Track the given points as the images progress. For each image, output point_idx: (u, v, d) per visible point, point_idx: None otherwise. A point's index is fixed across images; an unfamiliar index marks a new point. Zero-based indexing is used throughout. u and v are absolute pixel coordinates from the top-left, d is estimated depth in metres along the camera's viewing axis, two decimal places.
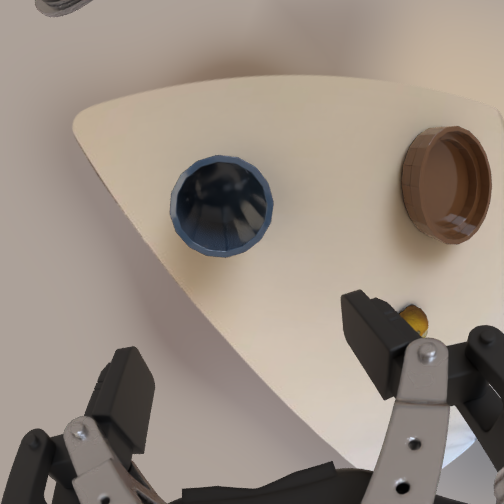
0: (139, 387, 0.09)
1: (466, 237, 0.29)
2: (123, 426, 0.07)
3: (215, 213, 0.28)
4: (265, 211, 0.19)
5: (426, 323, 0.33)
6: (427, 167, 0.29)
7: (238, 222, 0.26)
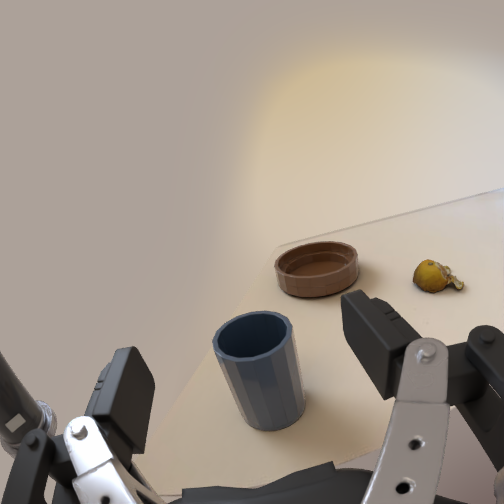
0: (139, 387, 0.09)
1: (353, 250, 0.48)
2: (123, 426, 0.07)
3: None
4: (269, 315, 0.26)
5: None
6: None
7: None
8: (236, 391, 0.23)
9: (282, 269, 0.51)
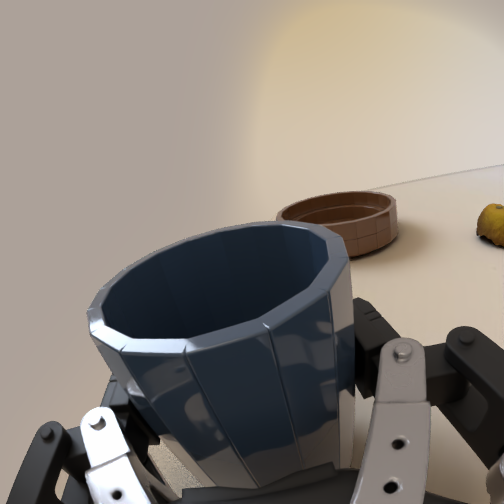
0: None
1: (388, 196, 0.32)
2: (140, 416, 0.07)
3: None
4: (267, 231, 0.10)
5: (486, 206, 0.23)
6: None
7: None
8: (168, 446, 0.07)
9: None
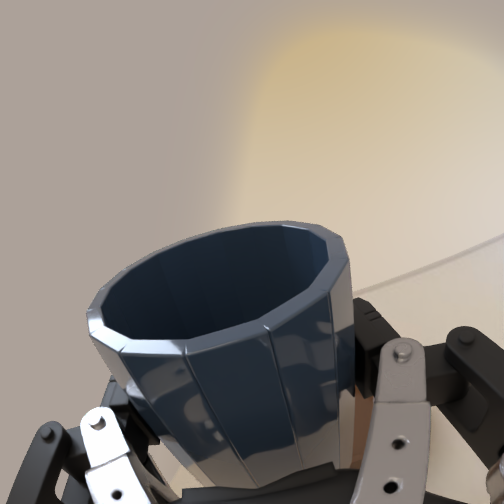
0: None
1: None
2: (140, 416, 0.07)
3: None
4: (267, 231, 0.10)
5: None
6: None
7: None
8: (167, 447, 0.06)
9: None
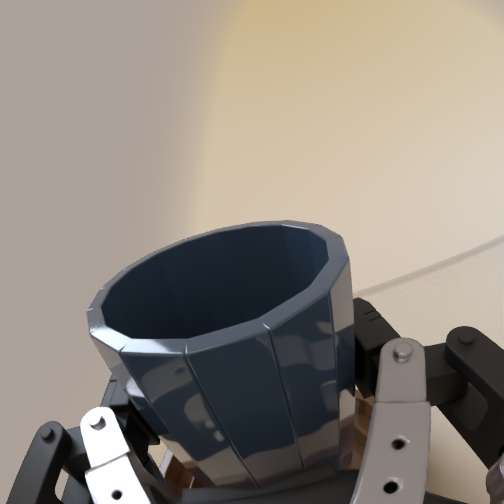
0: None
1: None
2: (140, 416, 0.07)
3: None
4: (267, 231, 0.10)
5: None
6: None
7: None
8: (167, 446, 0.06)
9: None
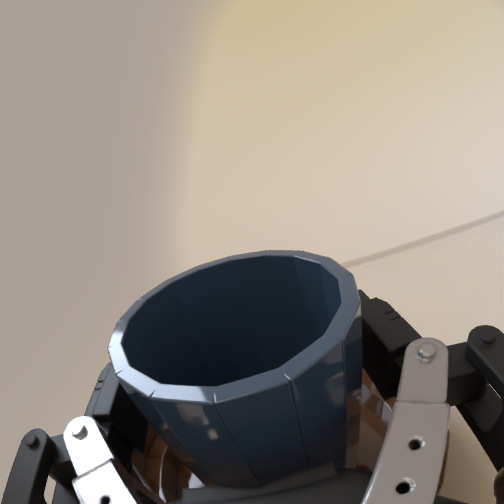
0: None
1: None
2: (123, 426, 0.07)
3: None
4: (278, 261, 0.10)
5: None
6: None
7: None
8: (187, 466, 0.07)
9: None
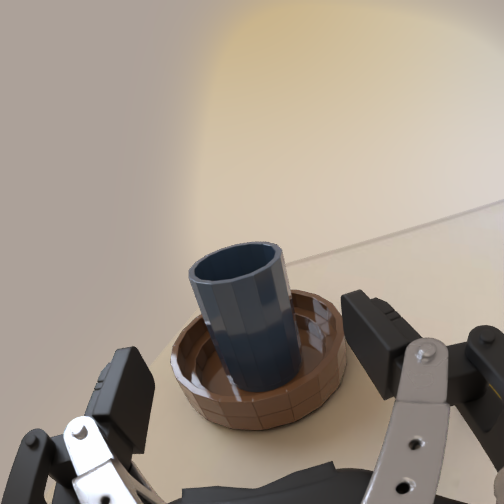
0: (139, 387, 0.09)
1: (337, 320, 0.22)
2: (123, 426, 0.07)
3: None
4: (256, 246, 0.23)
5: None
6: (230, 385, 0.22)
7: None
8: (215, 333, 0.20)
9: (195, 347, 0.25)
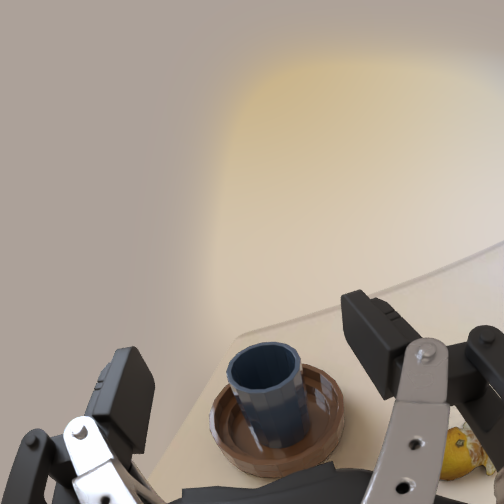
0: (139, 387, 0.09)
1: (338, 398, 0.26)
2: (123, 426, 0.07)
3: None
4: (278, 347, 0.27)
5: (448, 433, 0.18)
6: (255, 442, 0.27)
7: None
8: (248, 416, 0.24)
9: (225, 411, 0.30)
